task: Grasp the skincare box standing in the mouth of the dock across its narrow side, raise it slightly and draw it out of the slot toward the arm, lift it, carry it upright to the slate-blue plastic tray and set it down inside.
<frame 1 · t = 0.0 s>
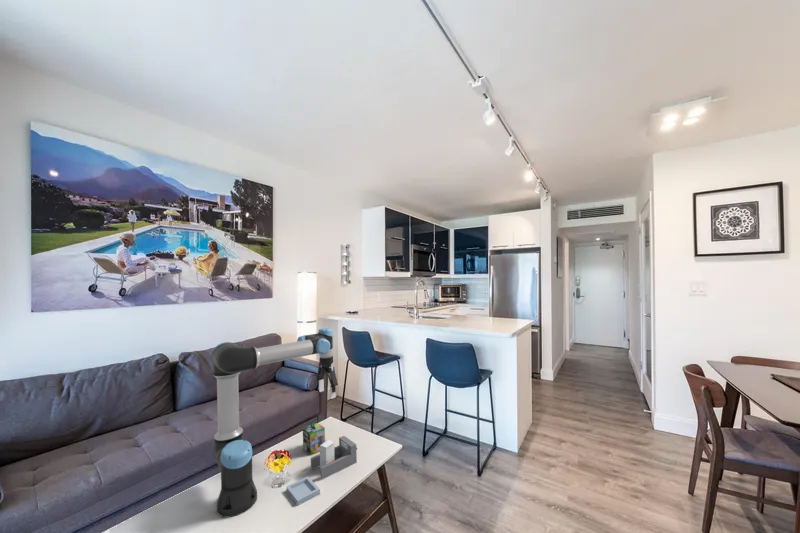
hand: (327, 394, 173), 28 cm above the table, fingers open, 13 cm apart
dock: (327, 468, 152), on the table
tray: (303, 492, 135), on the table
skincare box: (327, 468, 152), resting in dock
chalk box: (314, 449, 170), on the table
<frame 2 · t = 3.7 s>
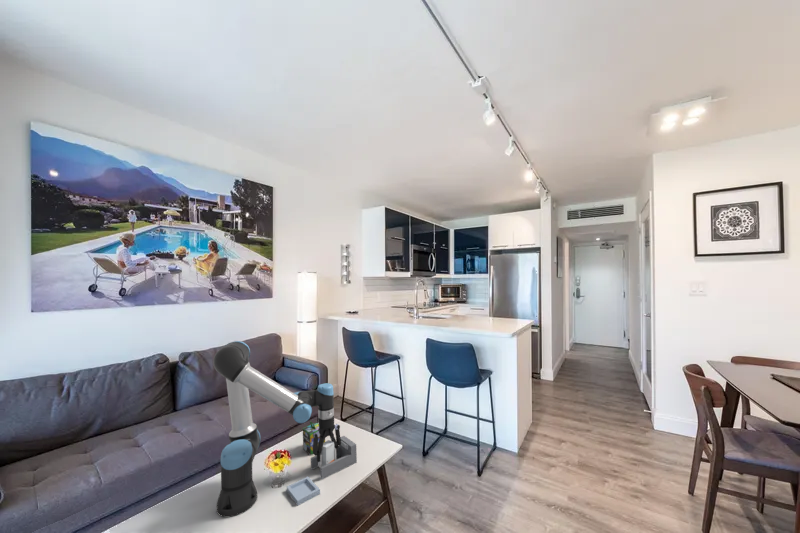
hand: (327, 464, 152), 2 cm above the table, fingers closed on skincare box, 7 cm apart
skincare box: (327, 468, 152), resting in dock, touching gripper
everything else where it was.
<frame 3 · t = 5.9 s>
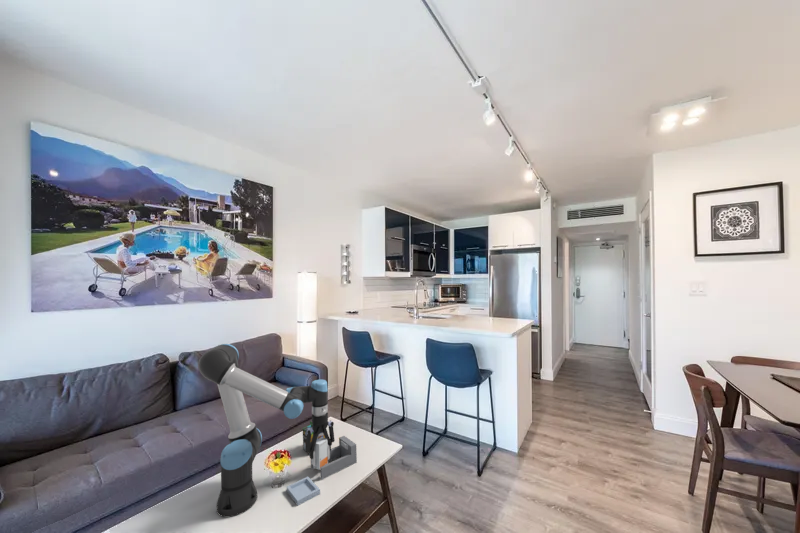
hand: (320, 461, 150), 5 cm above the table, fingers closed on skincare box, 7 cm apart
skincare box: (320, 466, 150), point 2 cm above the table, touching gripper
everything else where it was.
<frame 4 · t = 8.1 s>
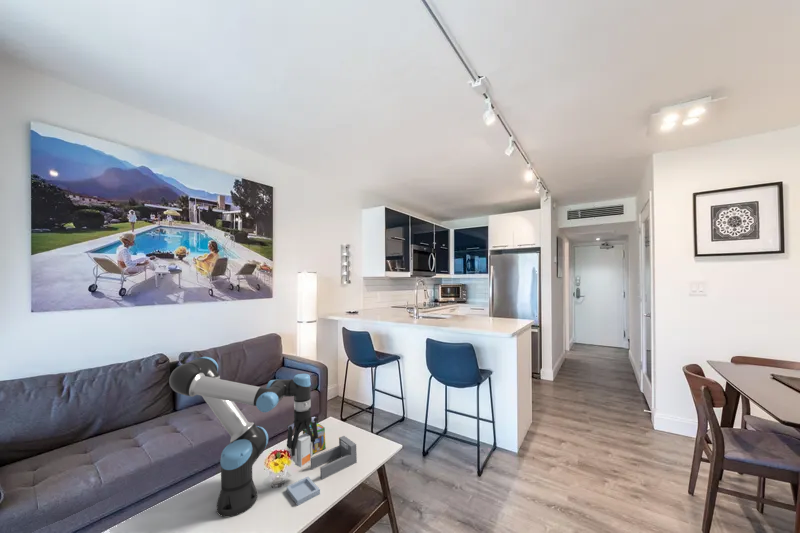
hand: (302, 458, 144), 10 cm above the table, fingers closed on skincare box, 7 cm apart
skincare box: (303, 463, 144), point 7 cm above the table, touching gripper
everything else where it was.
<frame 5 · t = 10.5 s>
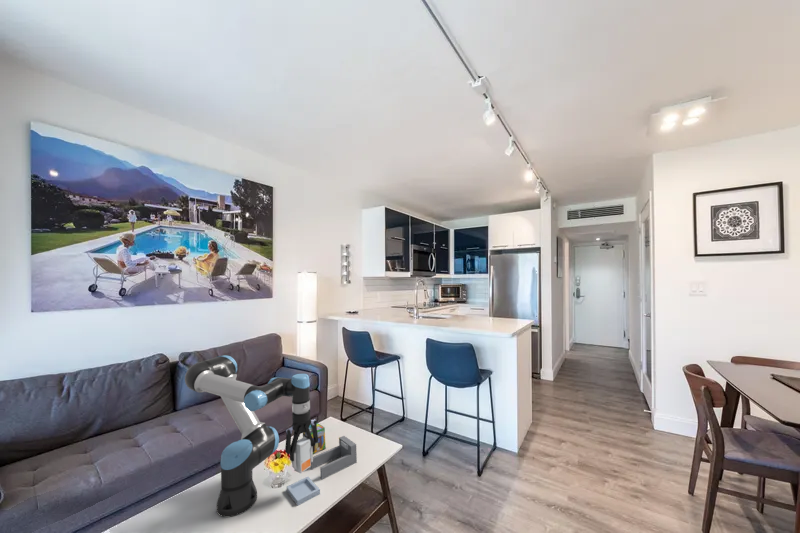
hand: (302, 463, 136), 12 cm above the table, fingers closed on skincare box, 7 cm apart
skincare box: (303, 469, 136), point 10 cm above the table, touching gripper
everything else where it was.
when the fingers open (3 cm above the table, at t = 12.7 s): skincare box stays where it is, resting on tray.
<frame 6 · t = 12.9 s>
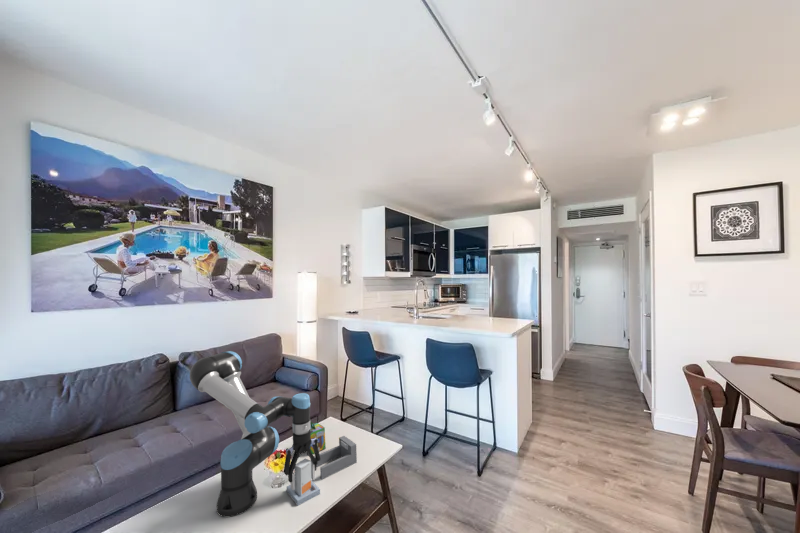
hand: (302, 483, 136), 4 cm above the table, fingers open, 8 cm apart
skincare box: (303, 491, 136), resting on tray
everything else where it was.
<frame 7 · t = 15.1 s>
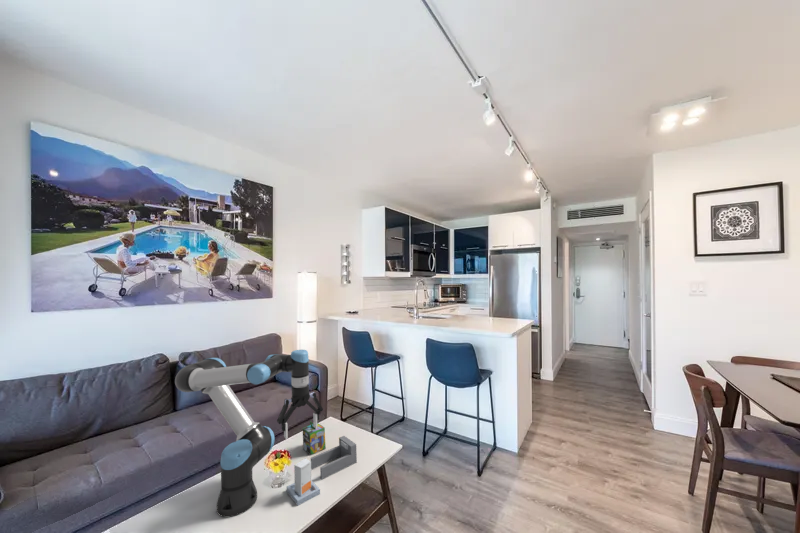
hand: (301, 432, 140), 24 cm above the table, fingers open, 13 cm apart
nothing on the table moved.
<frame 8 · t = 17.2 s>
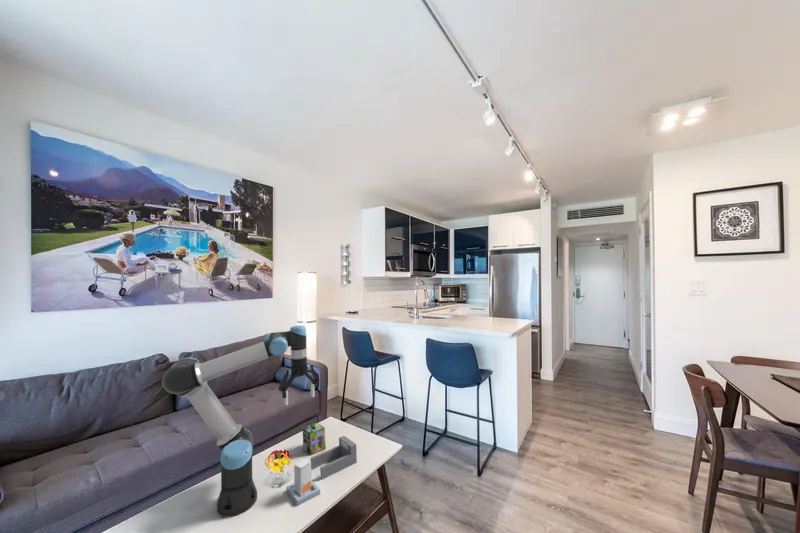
hand: (299, 400, 155), 33 cm above the table, fingers open, 13 cm apart
nothing on the table moved.
at the end: skincare box inside the target area on the tray (0.1 cm from its centre), point 0.4 cm above the tray's base; skincare box tilted 0°; the gripper is holding nothing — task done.
